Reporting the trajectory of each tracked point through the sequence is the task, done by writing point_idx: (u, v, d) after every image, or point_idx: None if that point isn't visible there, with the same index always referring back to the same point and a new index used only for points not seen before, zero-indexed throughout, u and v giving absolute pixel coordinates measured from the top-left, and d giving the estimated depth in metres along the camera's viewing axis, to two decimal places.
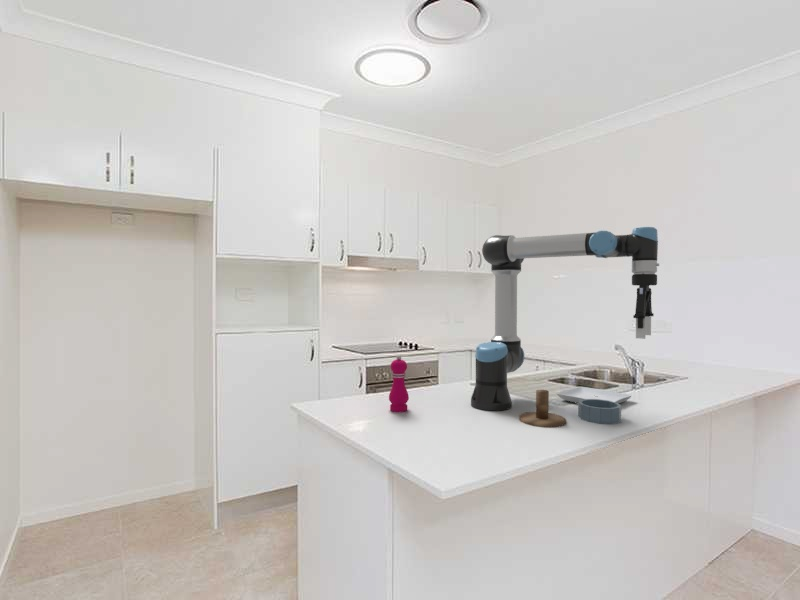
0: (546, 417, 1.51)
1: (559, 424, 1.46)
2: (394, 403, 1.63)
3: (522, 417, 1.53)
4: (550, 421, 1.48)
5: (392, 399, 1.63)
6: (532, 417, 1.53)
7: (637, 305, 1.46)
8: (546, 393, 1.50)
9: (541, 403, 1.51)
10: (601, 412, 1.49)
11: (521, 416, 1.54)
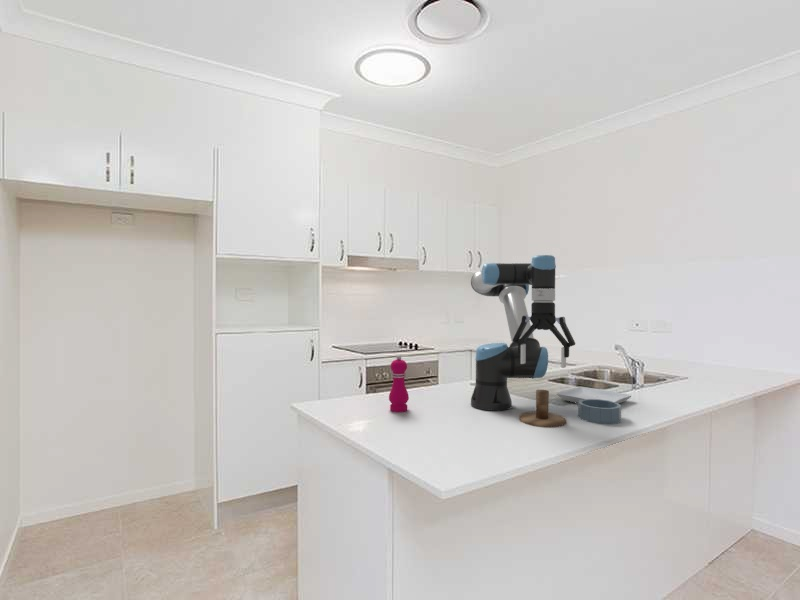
0: (546, 417, 1.51)
1: (559, 424, 1.46)
2: (394, 403, 1.63)
3: (522, 417, 1.53)
4: (550, 421, 1.49)
5: (392, 399, 1.63)
6: (532, 417, 1.53)
7: None
8: (546, 393, 1.50)
9: (541, 403, 1.51)
10: (601, 412, 1.49)
11: (521, 416, 1.54)
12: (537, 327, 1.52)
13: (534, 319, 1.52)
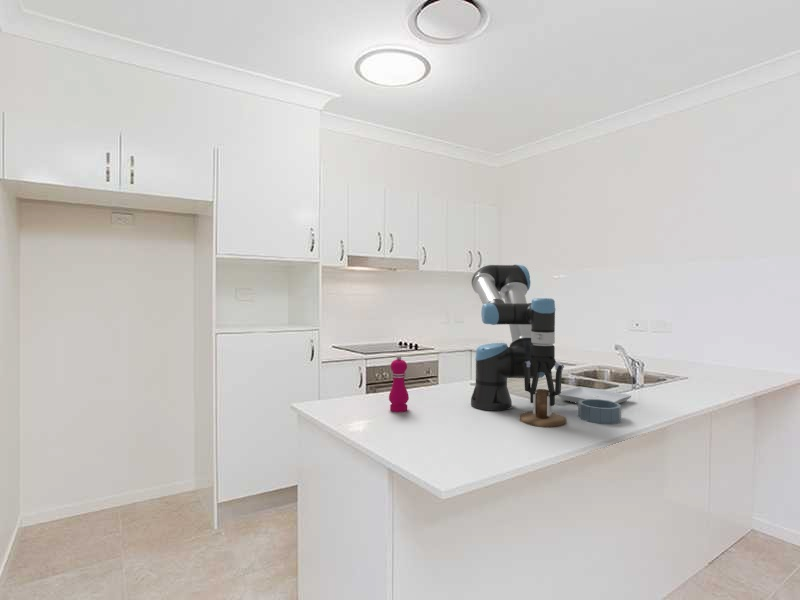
0: (546, 416, 1.51)
1: (559, 423, 1.46)
2: (394, 403, 1.63)
3: (522, 416, 1.53)
4: (550, 420, 1.48)
5: (392, 399, 1.63)
6: (532, 416, 1.53)
7: None
8: (546, 392, 1.50)
9: (541, 402, 1.50)
10: (601, 412, 1.49)
11: (521, 415, 1.54)
12: None
13: (534, 361, 1.52)
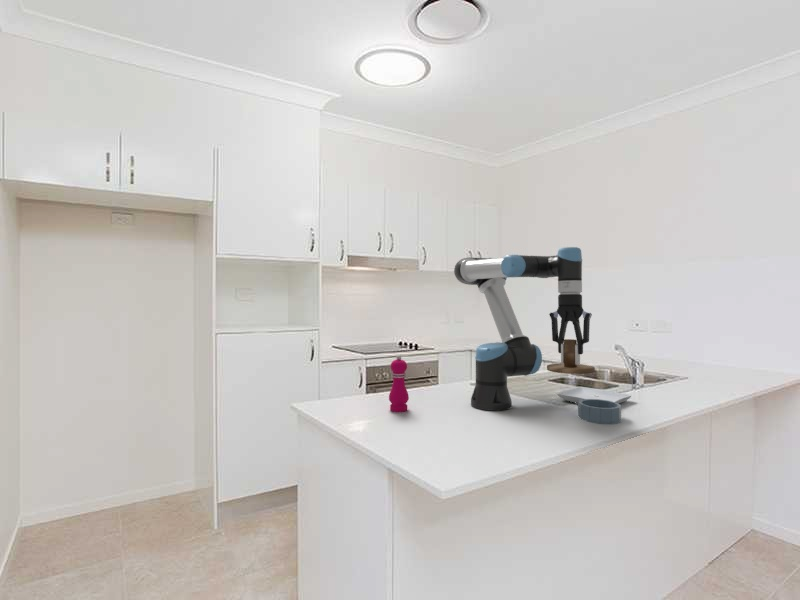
0: (574, 365, 1.51)
1: (587, 370, 1.46)
2: (394, 403, 1.63)
3: (550, 366, 1.53)
4: (579, 368, 1.48)
5: (392, 399, 1.63)
6: (560, 366, 1.53)
7: None
8: (574, 341, 1.50)
9: (568, 351, 1.51)
10: (601, 412, 1.49)
11: (549, 366, 1.54)
12: None
13: (561, 310, 1.53)
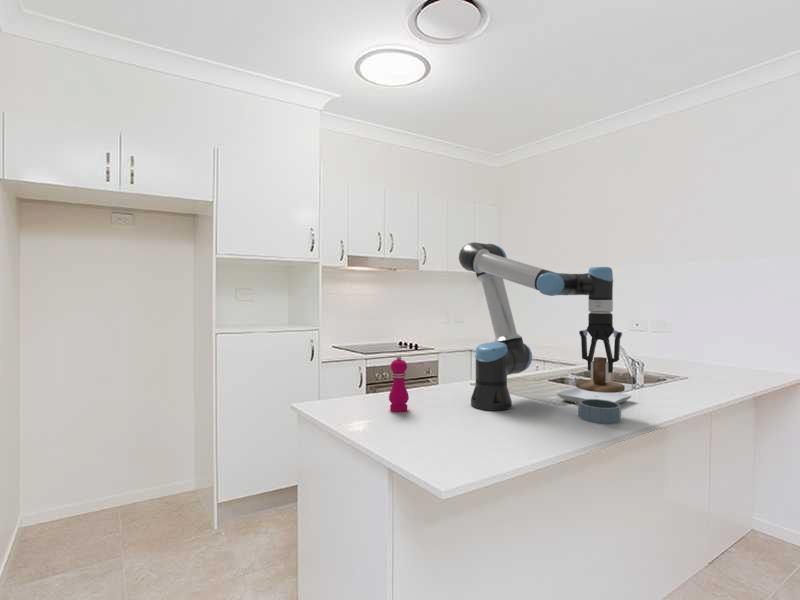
0: (604, 383, 1.53)
1: (619, 389, 1.48)
2: (394, 403, 1.63)
3: (580, 384, 1.55)
4: (609, 386, 1.51)
5: (392, 399, 1.63)
6: (590, 384, 1.55)
7: None
8: (604, 360, 1.53)
9: (599, 369, 1.53)
10: (601, 412, 1.49)
11: (579, 383, 1.56)
12: None
13: (591, 329, 1.55)
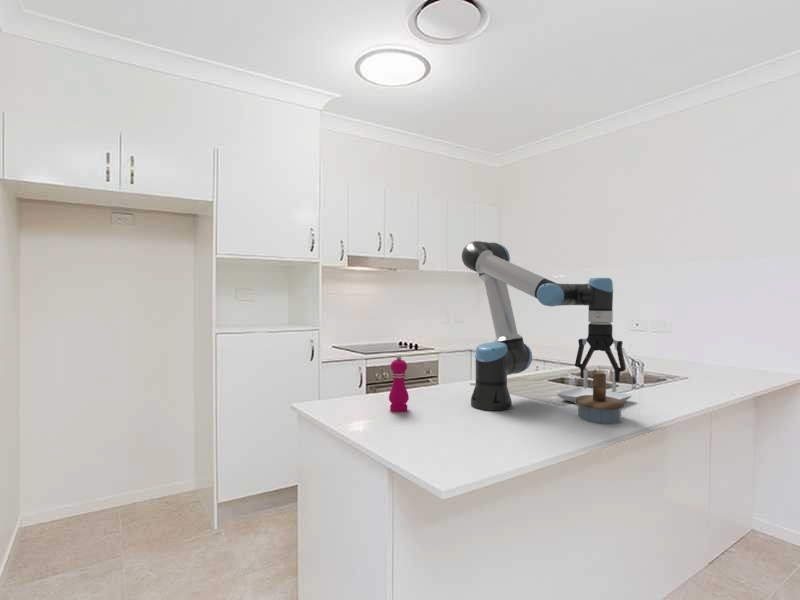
0: (604, 399, 1.53)
1: (618, 406, 1.48)
2: (394, 403, 1.63)
3: (579, 400, 1.55)
4: (609, 403, 1.51)
5: (392, 399, 1.63)
6: (589, 399, 1.55)
7: None
8: (604, 376, 1.53)
9: (598, 385, 1.53)
10: (601, 412, 1.49)
11: (578, 399, 1.56)
12: (594, 348, 1.55)
13: (591, 340, 1.55)
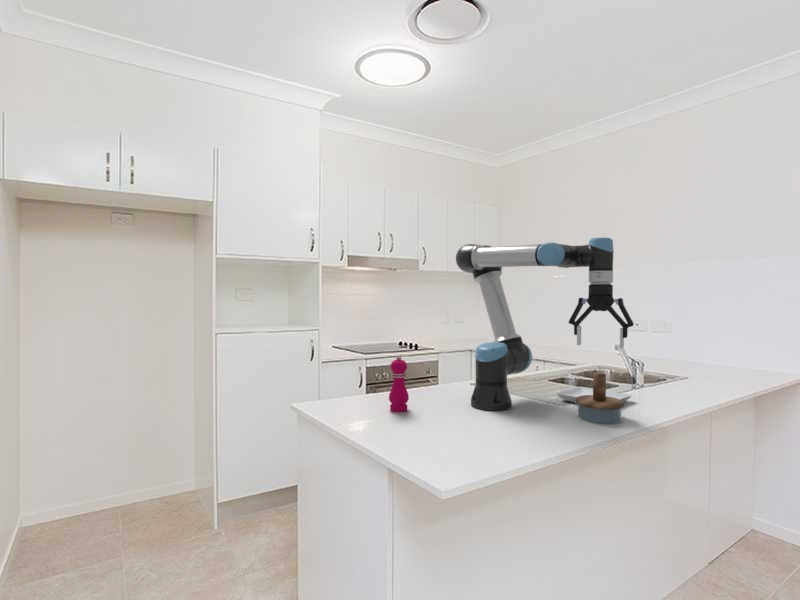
0: (604, 399, 1.53)
1: (618, 406, 1.48)
2: (394, 403, 1.63)
3: (579, 400, 1.55)
4: (609, 403, 1.51)
5: (392, 399, 1.63)
6: (589, 399, 1.55)
7: None
8: (604, 376, 1.53)
9: (598, 385, 1.53)
10: (601, 412, 1.49)
11: (578, 399, 1.56)
12: (594, 308, 1.54)
13: (591, 301, 1.55)
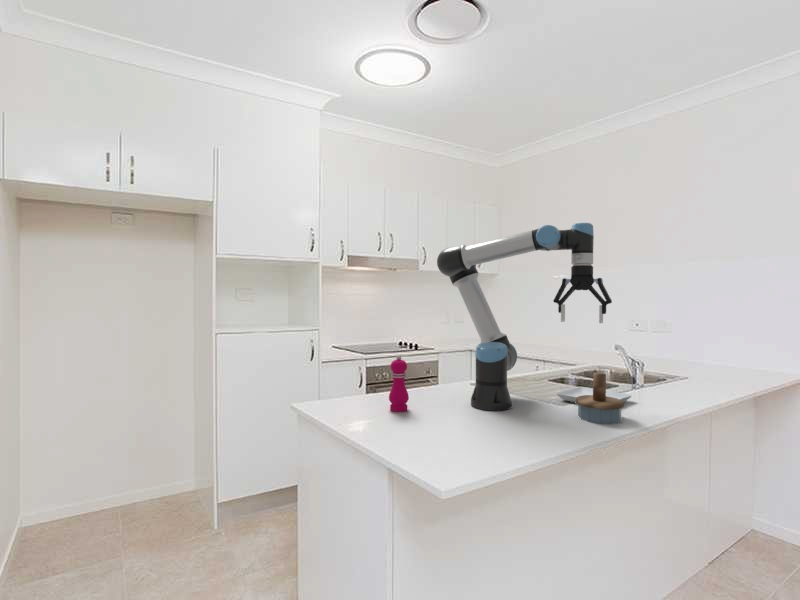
0: (604, 399, 1.53)
1: (618, 406, 1.48)
2: (394, 403, 1.63)
3: (579, 400, 1.55)
4: (609, 403, 1.51)
5: (392, 399, 1.63)
6: (589, 399, 1.55)
7: None
8: (604, 376, 1.53)
9: (598, 385, 1.53)
10: (601, 412, 1.49)
11: (578, 399, 1.56)
12: (576, 288, 1.69)
13: (574, 281, 1.70)
